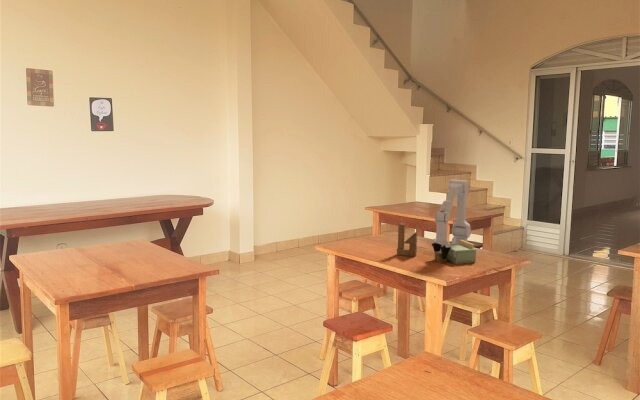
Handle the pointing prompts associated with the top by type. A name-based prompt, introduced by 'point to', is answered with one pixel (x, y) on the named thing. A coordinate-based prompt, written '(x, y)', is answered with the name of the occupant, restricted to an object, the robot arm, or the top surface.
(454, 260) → the toolbox
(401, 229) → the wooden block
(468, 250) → the lid
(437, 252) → the small brown cube
